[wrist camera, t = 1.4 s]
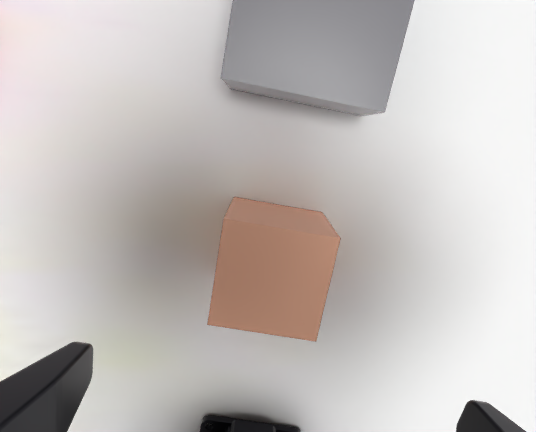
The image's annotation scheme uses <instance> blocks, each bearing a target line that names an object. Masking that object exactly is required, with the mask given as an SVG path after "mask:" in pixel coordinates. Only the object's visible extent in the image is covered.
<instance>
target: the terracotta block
mask: <svg viewBox="0 0 536 432" xmlns="http://www.w3.org/2000/svg"><path fill="white" fill-rule="evenodd" d="M340 239H341V238H340V237H339V235H338V234H337V233H336V231H335V230H334V228H333V227H332V225H331V224H330V223H329V221H328V220H327V218H326V217H325V216H324V214H323V213H322V212H318V211H312V210H306V209H300V208H295V207H289V206H283V205H277V204H272V203H266V202H260V201H254V200H249V199H243V198H237V197H234V198H233V200H232V202H231V204H230V206H229V208H228V210H227V212H226V215H225V217H224V219H223V226H222V232H221V239H220V245H219V252H218V258H217V265H216V271H215V278H214V284H213V291H212V297H211V304H210V311H209V317H208V324H207V325H212V326H219V327H225V328H232V329H238V330H245V331H251V332H258V333H264V334H271V335H277V336H283V337H290V338H296V339H303V340H309V341H316V340H317V336H318V331H319V327H320V323H321V319H322V314H323V310H324V306H325V302H326V298H327V293H328V289H329V285H330V281H331V276H332V272H333V268H334V264H335V260H336V255H337V251H338V247H339V243H340Z"/></svg>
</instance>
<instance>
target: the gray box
mask: <svg viewBox="0 0 536 432" xmlns="http://www.w3.org/2000/svg"><path fill="white" fill-rule="evenodd" d="M413 4H414V0H233V3H232V10H231V16H230V22H229V29H228V35H227V42H226V48H225V55H224V61H223V67H222V74H221V79H222V80H223V81H224V82H225V83H226V85H227V86H228V87H229V88H230V89H234V90H239V91H244V92H248V93H253V94H258V95H263V96H268V97H272V98H277V99H282V100H287V101H292V102H296V103H301V104H306V105H311V106H315V107H320V108H325V109H330V110H335V111H339V112H344V113H349V114H354V115H359V116H365V115H371V114H378V113H384V112H385V110H386V106H387V102H388V98H389V94H390V91H391V87H392V83H393V79H394V76H395V72H396V68H397V64H398V61H399V57H400V53H401V49H402V45H403V42H404V38H405V34H406V30H407V27H408V23H409V19H410V15H411V11H412V8H413Z"/></svg>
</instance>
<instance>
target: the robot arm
mask: <svg viewBox="0 0 536 432" xmlns="http://www.w3.org/2000/svg"><path fill="white" fill-rule="evenodd" d="M92 372H93V347H92V345H91V344H88V343H82V342H72V343H70V344H68V345H66V346H64V347H63V348H61V349H59V350H57V351H55V352H53V353H52V354H50V355H48V356H46V357H44V358H42V359H41V360H39V361H37V362H35V363H33V364H32V365H30V366H28V367H26V368H24V369H22V370H21V371H19V372H17V373H15V374H13V375H11V376H10V377H8V378H6V379H4V380H2V381H1V382H0V432H67V431H68V428H69V426H70V424H71V422H72V420H73V418H74V416H75V414H76V411H77V409H78V407H79V405H80V403H81V401H82V399H83V397H84V394H85V392H86V390H87V388H88V386H89V384H90V381H91V378H92ZM208 423H210V424H212V425H208ZM200 432H301V431H300V429H298V428H296V427H290V426H283V425H276V424H269V423H262V422H255V421H248V420H241V419H234V418H227V417H220V416H213V415H207V416H205V417H204V418H203V420H202V424H201V429H200ZM456 432H526V431H525V430H523V429H522V428H521V427H519V426H518V425H517V424H515V423H514V422H513V421H511V420H510V419H509V418H508V417H506V416H505V415H504V414H502V413H501V412H500V411H498V410H497V409H496V408H494V407H493V406H492V405H490V404H489V403H486V402H482V401H475V400H470V401H469V402H467V404H466V406H465V408H464V410H463V412H462V414H461V417H460V419H459V421H458V423H457V427H456Z"/></svg>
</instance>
